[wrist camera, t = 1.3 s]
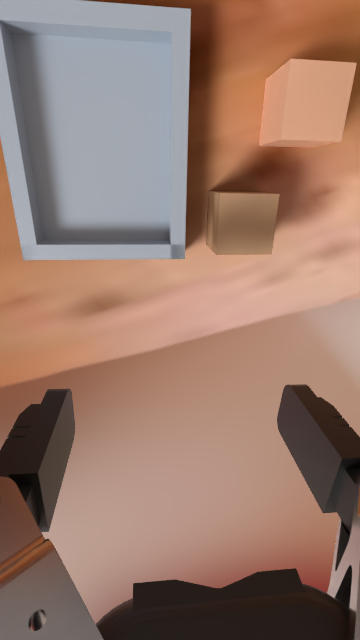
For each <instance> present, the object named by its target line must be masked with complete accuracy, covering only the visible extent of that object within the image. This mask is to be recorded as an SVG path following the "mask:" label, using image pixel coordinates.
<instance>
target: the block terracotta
mask: <svg viewBox="0 0 360 640" xmlns="http://www.w3.org/2000/svg"><path fill="white" fill-rule="evenodd" d="M356 65H357V63H352V62H337V61H321V60H305V59H290V60H289V61H287V62H286V63H285V64H284V65H282V66H281V67H280V68H279V69H278V70H276V71H275V72H274V73H273V74H271V75H270V76H269V77H268V78H267V79H266V84H265V94H264V103H263V113H262V122H261V131H260V141H259V146H278V147H310V148H311V147H316V146H321V145H327V144H332V143H337V142H341V140H342V135H343V130H344V125H345V120H346V115H347V110H348V105H349V100H350V95H351V90H352V85H353V80H354V75H355V70H356Z"/></svg>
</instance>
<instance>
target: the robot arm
mask: <svg viewBox="0 0 360 640" xmlns="http://www.w3.org/2000/svg"><path fill="white" fill-rule="evenodd" d="M277 423H278V429H279V432H280V434H281V436H282V438H283V440H284V442H285V443H286V445H287V447H288V449H289V451H290V453H291V455H292V456H293V458H294V460H295V462H296V464H297V466H298V467H299V469H300V471H301V473H302V475H303V477H304V478H305V481H306V482H307V484H308V486H309V488H310V490H311V491H312V493H313V495H314V497H315V499H316V501H317V503H318V505H319V506H320V508H321V510H322V512H323V513H332V512H337V513H338V515H339V516H340V518H341V519H340V522H339V525H338V530H337V537H336V544H335V552H334V559H333V566H332V574H331V580H330V584H329V589H328V592H327V593H325V592H323V591H321V590H319V589H317V588H314V587H311V586H309V585H306V584H302V583H301V580H300V578H299V575H298V572H297V570H296V569H284V570H274V571H263V572H257V573H254V574H252V575H250V576H248V577H245V578H243V579H241V580H239V581H237V582H234V583H232V584H230V585H228V586H226V587H223V588H212V587H207V586H203V585H198V584H193V583H189V582H184V581H179V580H166V581H155V582H144V583H134V584H133V598H132V599H130V600H128V601H125V602H123V603H122V604H120V605H118V606H117V607H115V608H114V609H112V610H111V611H110V612H109V613H107V614H106V615H105V616H103V618H101V619H100V620H99V622H97V623H96V624H95V622H94V621H93V619H92V617H91V615H90V613H89V611H88V609H87V607H86V605H85V604H84V602H83V600H82V598H81V596H80V594H79V592H78V591H77V589H76V587H75V585H74V583H73V581H72V579H71V577H70V575H69V574H68V572H67V570H66V568H65V566H64V564H63V562H62V560H61V558H60V557H59V555H58V553H57V551H56V549H55V547H54V545H53V544H52V542H51V541H50V540H49V539H46V540H45V538H44V537H43V535H42V533H41V532H48V531H49V528H50V525H51V521H52V518H53V514H54V510H55V506H56V503H57V499H58V495H59V491H60V488H61V484H62V481H63V477H64V473H65V469H66V466H67V462H68V459H69V455H70V451H71V448H72V443H73V440H74V434H75V420H74V411H73V401H72V392H71V390H70V389H48V390H47V392H46V394H45V396H44V398H43V400H42V403H41V404H31V405H30V406H29V407H27V408H26V409H25V410H24V411H23V412H22V413H21V414H20V415H19V416H18V418H17V420H16V422H15V424H14V426H13V429H11V431H10V433H9V435H8V439H6V441H5V443H4V444H3V446H2V448H1V450H0V640H360V437H359V436H358V435H357V434H356V432H355V431H354V430H353V429H352V428H351V427H349V424H348V423H347V422H346V421H345V420H344V418H342V416H341V415H340V414H339V412H338V411H337V410H336V409H335V407H334V406H332V405H331V404H330V403H328V402H327V401H325V400H324V399H322V398H321V397H317V396H316V395H315V394H314V393H313V391H312V390H311V389H310V388H309V386H307V385H286V386H285V387H284V390H283V394H282V399H281V403H280V408H279V412H278V417H277Z"/></svg>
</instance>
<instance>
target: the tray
mask: <svg viewBox="0 0 360 640" xmlns="http://www.w3.org/2000/svg"><path fill="white" fill-rule="evenodd" d="M190 28H191V9H187V8H174V7H161V6H148V5H135V4H122V3H109V2H96V1H83V0H0V137H1V142H2V148H3V153H4V158H5V164H6V169H7V174H8V180H9V185H10V190H11V196H12V201H13V206H14V212H15V217H16V222H17V228H18V233H19V238H20V244H21V249H22V254H23V260H93V259H185V232H186V192H187V151H188V110H189V69H190Z"/></svg>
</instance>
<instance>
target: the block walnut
mask: <svg viewBox="0 0 360 640" xmlns="http://www.w3.org/2000/svg"><path fill="white" fill-rule="evenodd" d="M279 196H280V194H275V193H266V192H240V191H209V197H208V217H207V237H206V245H207V246H208V247H209V248H210V249H211V250H212V251H213V252H214V253H215V254H216V255H257V254H272V247H273V240H274V232H275V225H276V218H277V210H278V203H279Z"/></svg>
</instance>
